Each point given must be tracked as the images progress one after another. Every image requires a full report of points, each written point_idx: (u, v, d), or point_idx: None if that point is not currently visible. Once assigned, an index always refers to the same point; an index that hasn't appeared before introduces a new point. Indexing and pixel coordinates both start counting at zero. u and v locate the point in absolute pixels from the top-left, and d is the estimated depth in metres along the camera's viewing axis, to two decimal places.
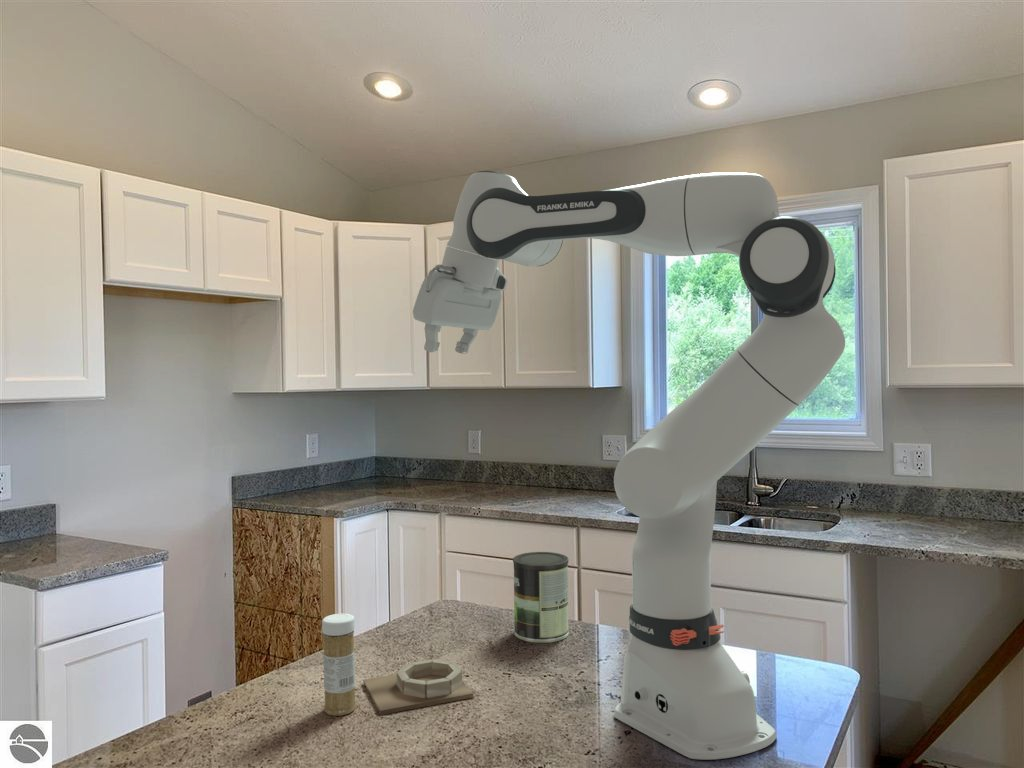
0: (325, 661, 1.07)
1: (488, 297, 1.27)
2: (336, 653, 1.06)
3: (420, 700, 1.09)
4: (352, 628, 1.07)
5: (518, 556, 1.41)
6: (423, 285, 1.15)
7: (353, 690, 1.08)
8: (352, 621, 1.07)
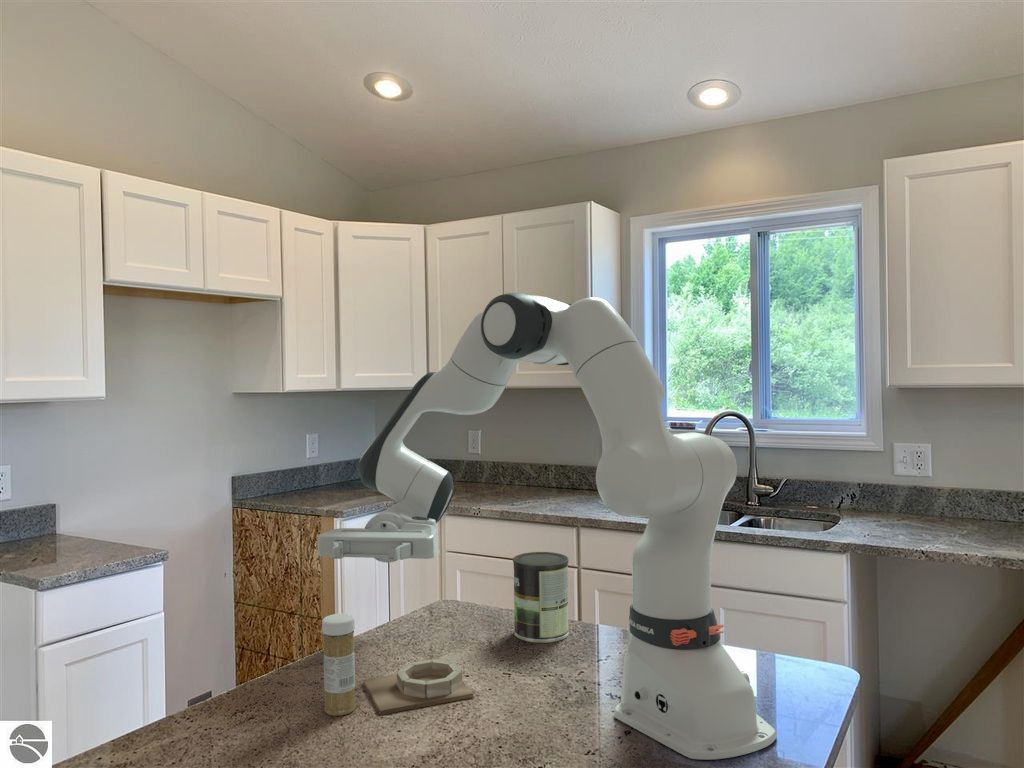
0: (325, 661, 1.07)
1: (414, 529, 1.30)
2: (336, 653, 1.06)
3: (420, 700, 1.09)
4: (352, 628, 1.07)
5: (518, 556, 1.41)
6: None
7: (353, 690, 1.08)
8: (352, 621, 1.07)
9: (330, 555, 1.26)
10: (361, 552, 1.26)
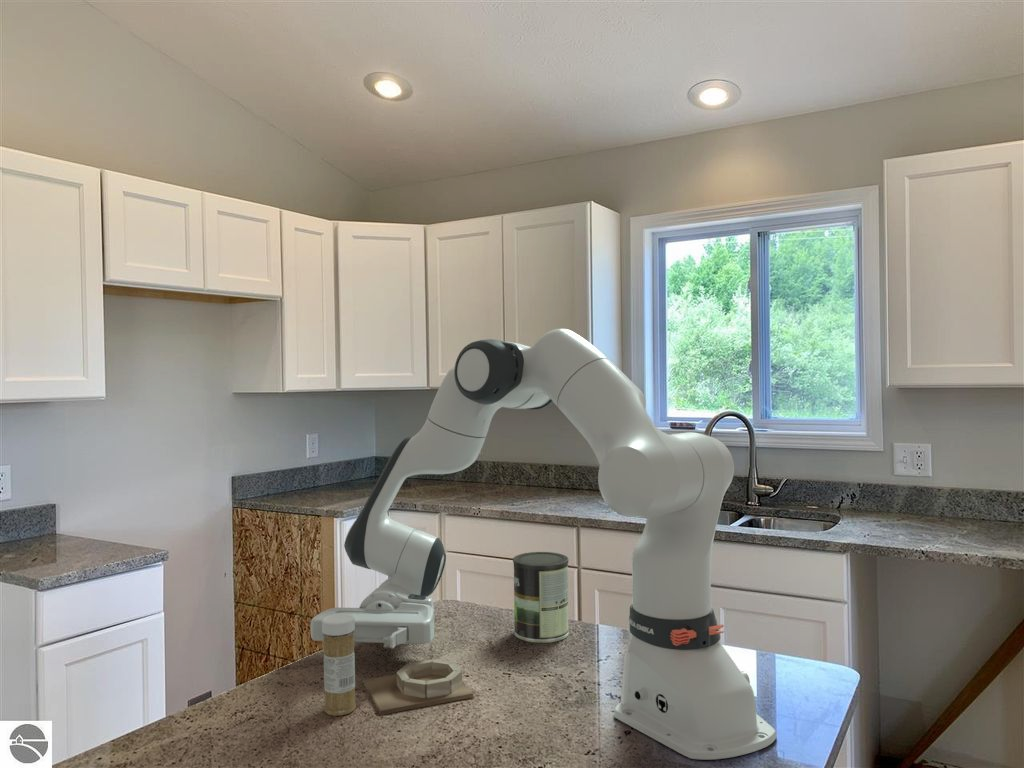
0: (325, 661, 1.07)
1: (411, 610, 1.26)
2: (336, 653, 1.06)
3: (420, 700, 1.09)
4: (352, 628, 1.07)
5: (518, 556, 1.41)
6: None
7: (353, 690, 1.08)
8: (352, 621, 1.07)
9: None
10: (356, 636, 1.22)
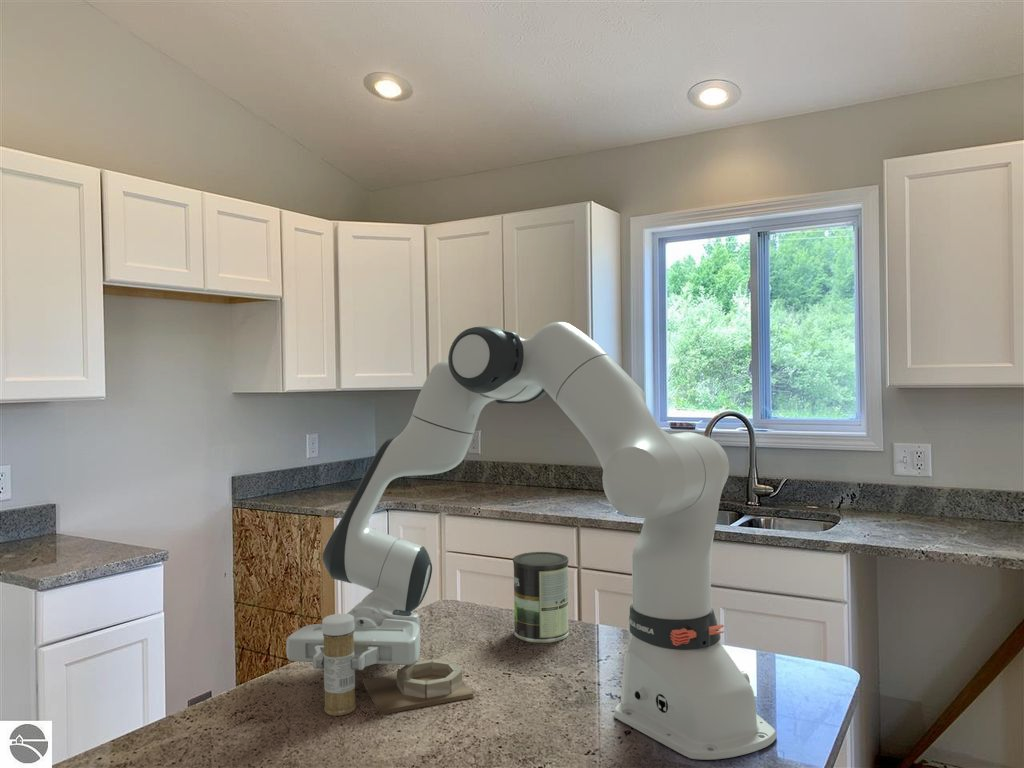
0: (325, 661, 1.07)
1: (395, 627, 1.17)
2: (336, 653, 1.06)
3: (420, 700, 1.09)
4: (352, 628, 1.07)
5: (518, 556, 1.41)
6: None
7: (353, 690, 1.08)
8: (352, 621, 1.07)
9: (300, 660, 1.13)
10: None
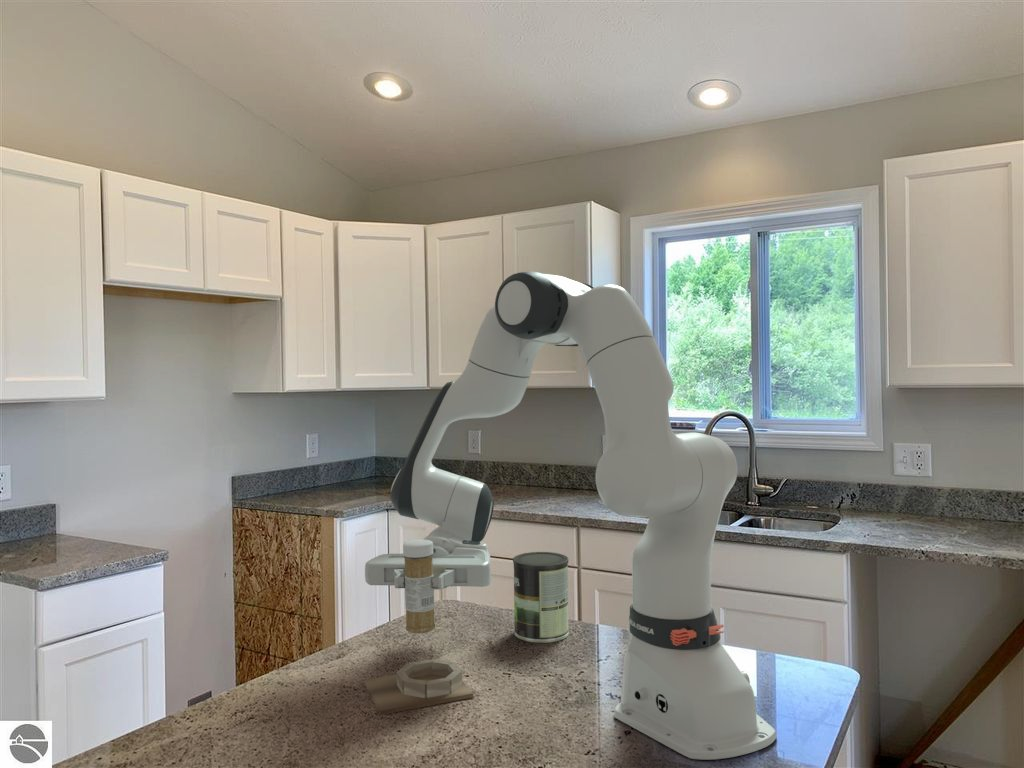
0: (407, 582, 1.13)
1: (466, 554, 1.23)
2: (418, 574, 1.12)
3: (420, 700, 1.09)
4: (432, 551, 1.13)
5: (518, 556, 1.41)
6: None
7: (433, 610, 1.14)
8: (431, 545, 1.14)
9: (379, 583, 1.19)
10: None
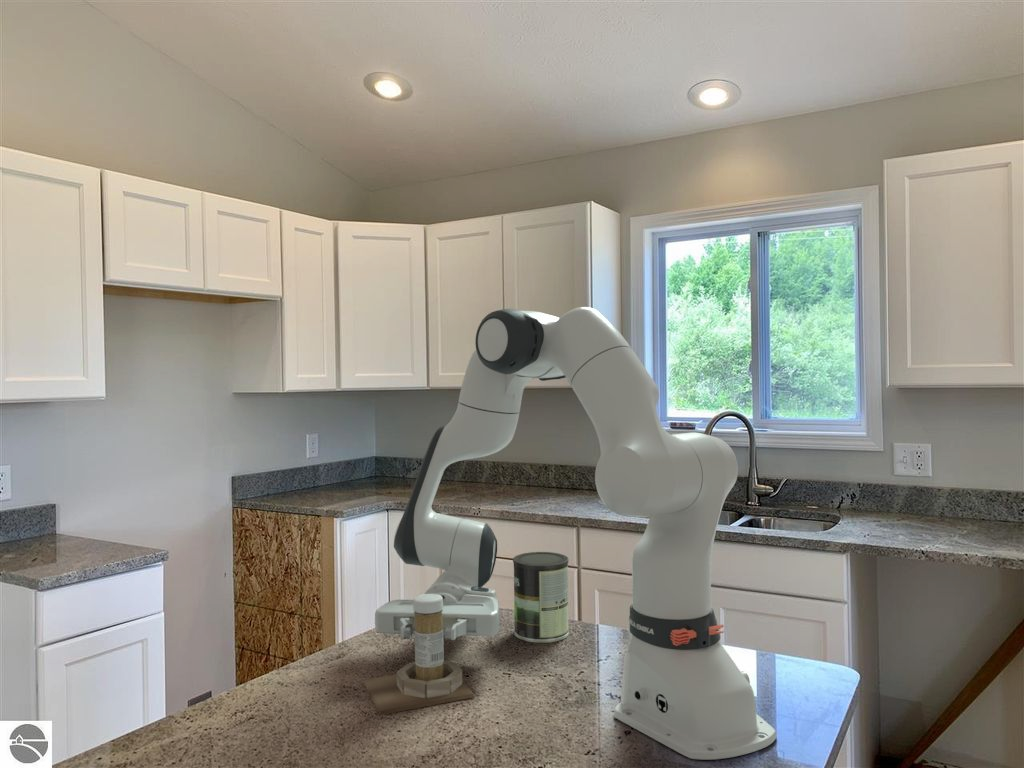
0: (417, 638, 1.14)
1: (475, 602, 1.24)
2: (428, 630, 1.13)
3: (420, 700, 1.09)
4: (441, 607, 1.15)
5: (518, 556, 1.41)
6: None
7: (442, 665, 1.15)
8: (441, 600, 1.15)
9: (389, 632, 1.20)
10: None
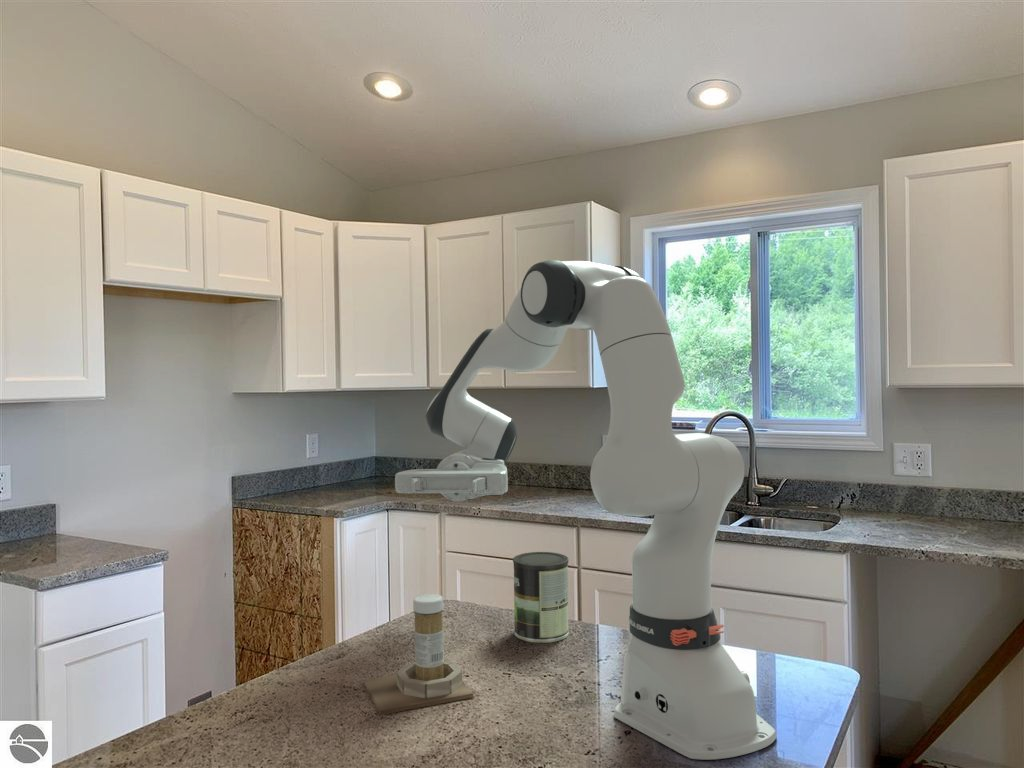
0: (417, 638, 1.14)
1: (485, 468, 1.37)
2: (428, 630, 1.13)
3: (420, 700, 1.09)
4: (442, 607, 1.15)
5: (518, 556, 1.41)
6: None
7: (442, 665, 1.15)
8: (442, 600, 1.15)
9: (408, 491, 1.33)
10: (437, 488, 1.33)
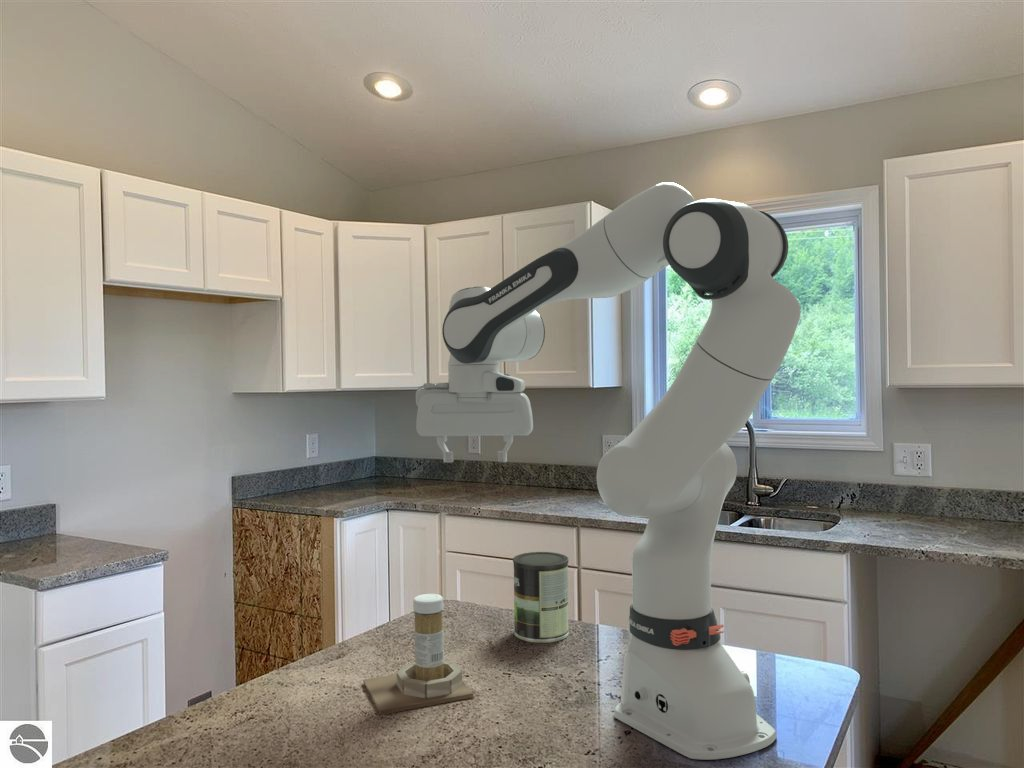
0: (417, 638, 1.14)
1: (504, 401, 1.27)
2: (428, 630, 1.13)
3: (420, 700, 1.09)
4: (442, 607, 1.15)
5: (518, 556, 1.41)
6: None
7: (442, 665, 1.15)
8: (442, 600, 1.15)
9: None
10: None
